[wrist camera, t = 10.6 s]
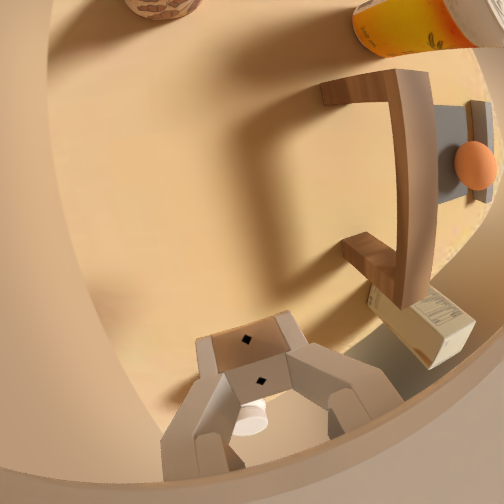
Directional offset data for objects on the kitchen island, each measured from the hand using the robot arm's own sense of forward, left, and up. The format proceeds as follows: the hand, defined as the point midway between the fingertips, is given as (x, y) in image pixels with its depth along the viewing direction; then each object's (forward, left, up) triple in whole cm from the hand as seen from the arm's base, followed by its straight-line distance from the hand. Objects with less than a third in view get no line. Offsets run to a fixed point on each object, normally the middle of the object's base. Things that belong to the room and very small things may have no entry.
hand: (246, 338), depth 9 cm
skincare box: (+15, +18, -16) cm, 29 cm away
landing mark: (0, +27, -16) cm, 31 cm away
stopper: (0, +36, -16) cm, 39 cm away
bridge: (0, +13, -16) cm, 21 cm away
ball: (+2, +31, -13) cm, 33 cm away
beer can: (-14, +19, -16) cm, 28 cm away
